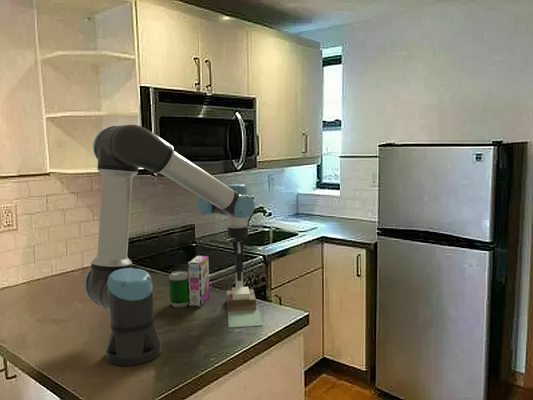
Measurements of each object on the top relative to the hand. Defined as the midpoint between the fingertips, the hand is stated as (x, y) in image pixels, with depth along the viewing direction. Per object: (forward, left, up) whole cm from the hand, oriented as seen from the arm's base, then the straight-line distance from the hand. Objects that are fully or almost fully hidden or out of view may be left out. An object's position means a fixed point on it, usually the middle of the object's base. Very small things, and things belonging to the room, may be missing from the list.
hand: (239, 288), depth 171 cm
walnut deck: (-5, 0, -5) cm, 7 cm away
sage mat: (-18, -1, -5) cm, 19 cm away
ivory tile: (-6, 0, -1) cm, 6 cm away
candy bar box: (+2, +15, -5) cm, 16 cm away
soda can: (0, +22, -5) cm, 22 cm away
